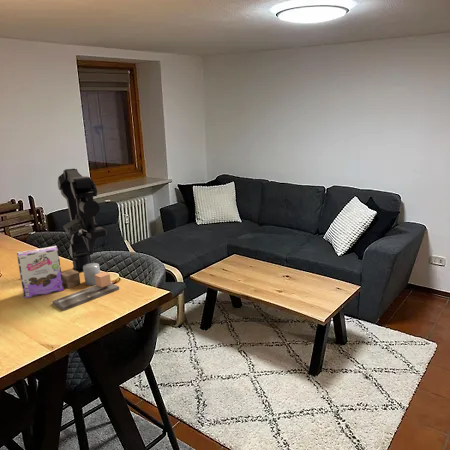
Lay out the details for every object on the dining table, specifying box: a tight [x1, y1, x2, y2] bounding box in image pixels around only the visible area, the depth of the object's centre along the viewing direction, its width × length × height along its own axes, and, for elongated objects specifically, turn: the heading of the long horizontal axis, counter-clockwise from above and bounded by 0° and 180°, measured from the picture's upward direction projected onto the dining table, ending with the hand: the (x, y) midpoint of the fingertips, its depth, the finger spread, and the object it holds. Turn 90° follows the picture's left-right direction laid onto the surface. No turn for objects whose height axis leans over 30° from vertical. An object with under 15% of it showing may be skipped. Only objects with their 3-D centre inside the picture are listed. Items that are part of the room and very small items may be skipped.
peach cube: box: [94, 271, 112, 288], centre depth 156 cm, size 4×4×4 cm
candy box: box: [16, 245, 65, 299], centre depth 155 cm, size 14×6×16 cm, turn 117°
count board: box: [51, 281, 120, 311], centre depth 152 cm, size 22×8×2 cm, turn 138°
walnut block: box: [61, 268, 81, 289], centre depth 163 cm, size 5×5×5 cm
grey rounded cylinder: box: [82, 262, 101, 287], centre depth 164 cm, size 6×6×7 cm
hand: (90, 250), depth 161 cm, fingers closed
